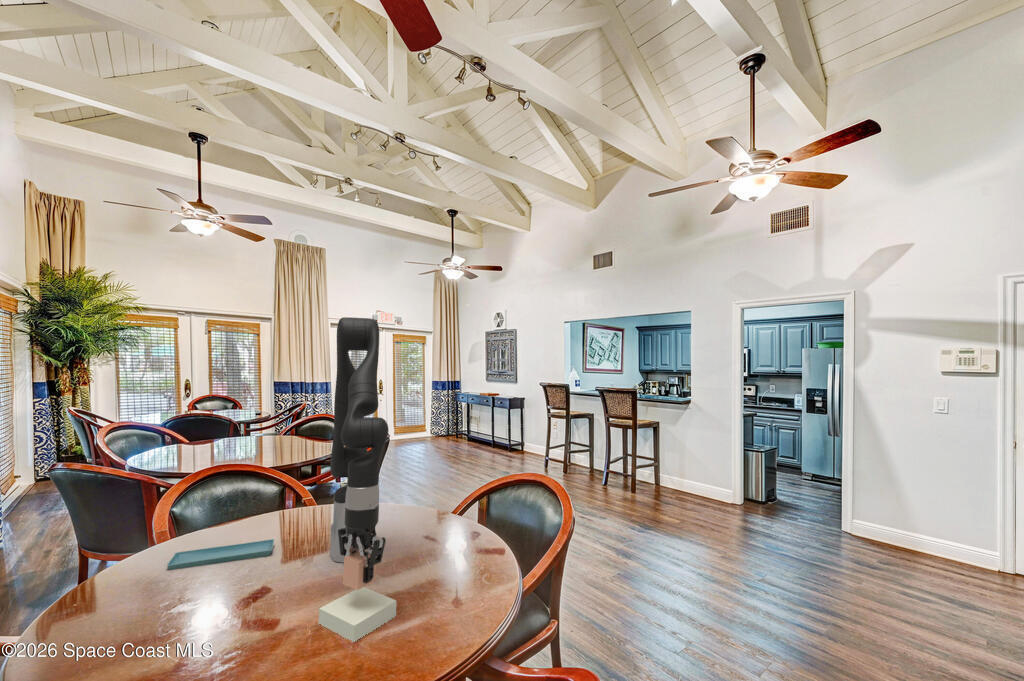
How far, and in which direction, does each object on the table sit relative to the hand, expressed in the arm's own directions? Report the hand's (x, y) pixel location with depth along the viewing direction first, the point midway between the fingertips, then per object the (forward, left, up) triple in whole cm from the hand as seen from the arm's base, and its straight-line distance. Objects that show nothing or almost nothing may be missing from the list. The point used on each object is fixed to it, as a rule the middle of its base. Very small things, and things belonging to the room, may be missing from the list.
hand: (359, 578), depth 102 cm
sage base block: (0, 0, -10) cm, 10 cm away
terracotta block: (0, 0, -1) cm, 1 cm away
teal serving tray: (-60, 0, -10) cm, 61 cm away
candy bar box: (-52, +39, -10) cm, 66 cm away
